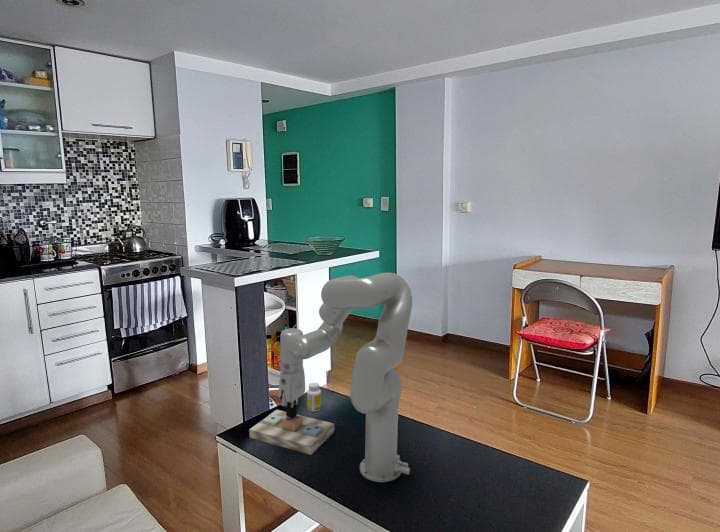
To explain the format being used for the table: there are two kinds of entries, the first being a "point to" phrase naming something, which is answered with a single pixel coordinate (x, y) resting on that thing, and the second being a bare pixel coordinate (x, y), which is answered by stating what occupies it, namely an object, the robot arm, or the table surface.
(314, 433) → the key two dots
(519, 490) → the table surface
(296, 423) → the key three dots
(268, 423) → the key one dot
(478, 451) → the table surface
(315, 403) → the supplement bottle
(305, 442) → the key panel
